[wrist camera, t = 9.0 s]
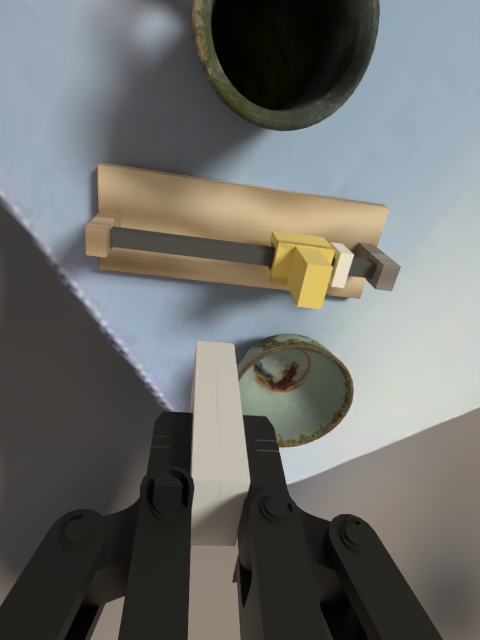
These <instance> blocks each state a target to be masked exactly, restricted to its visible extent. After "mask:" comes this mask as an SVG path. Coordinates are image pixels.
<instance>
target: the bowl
mask: <svg viewBox="0 0 480 640" xmlns="http://www.w3.org/2000/svg"><path fill="white" fill-rule="evenodd" d="M237 373H238V381H239V390H240V398H241V407H242V415H253V416H266V417H267V418H268V419H269V421H270V422H271V424H272V425H273V426H274V428H275V433H276V438H277V443H278V447H295V446H300V445H303V444H307V443H309V442H312V441H314V440H317V439H319V438H321V437H322V436H324V435H326V434H327V433H329V432H330V431H331V430H333V429H334V428H335V427H336V426H337V425H338V424H339V423H340V422H341V421H342V420H343V418H344V417H345V416H346V414H347V412H348V411H349V408H350V406H351V404H352V400H353V391H354V390H353V381H352V378H351V375H350V373H349V371H348V369H347V368H346V367H345V366H344V364H343V363H342V362H341V361H340V360H338V359H337V358H336V357H335V356H334V355H333V354H332V353H331V352H330V351H329V350H328V349H327V348H325V347H324V346H323V345H321V344H320V343H318V342H317V341H315V340H312V339H310V338H308V337H305V336H301V335H296V334H280V335H274V336H271V337H268V338H265V339H263V340H261V341H260V342H258V343H256V344H255V345H254V346H252V347H251V348H250V349H249V350H248V351H247V352H246V353H245V354H244V355H243V357H242V358H241V359H240V361H239V363H238V364H237Z"/></svg>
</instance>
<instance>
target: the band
mask: <svg viewBox="0 0 480 640" xmlns="http://www.w3.org/2000/svg"><path fill="white" fill-rule="evenodd" d="M330 245H331V246H332V247H333V248H334V249H335V253H334V256H333V257H334V259H335V262H334V266H333V269H332V273H331V277H330V280H329V284H330V285H331V287H339V288H344V286H345V283H346V279H347V276H348V273H349V270H350V266H351V263H352V260H353V257H354V254H353V253H352V252H351V251H350V250H348V249H347V248H346V247H345V246H344V245H343V244H340V243H333V242H331V243H330Z"/></svg>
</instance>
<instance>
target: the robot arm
mask: <svg viewBox="0 0 480 640" xmlns="http://www.w3.org/2000/svg"><path fill="white" fill-rule="evenodd" d="M237 537H238V549H239V554H238V558H237V562H236V566H235V570H234V574H233V582H237V586H238V603H239V619H240V635H241V640H443V639H442V638H441V636H440V634H439V632H438V631H437V629H436V628H435V626H434V624H433V623H432V621H431V620H430V618H429V616H428V615H427V613H426V612H425V610H424V609H423V607H422V605H421V604H420V602H419V601H418V599H417V597H416V596H415V595H414V593H413V591H412V590H411V588H410V586H409V585H408V584H407V582H406V580H405V578H404V577H403V575H402V574H401V572H400V570H399V569H398V567H397V566H396V564H395V563H394V561H393V559H392V558H391V556H390V555H389V553H388V551H387V550H386V548H385V547H384V545H383V543H382V542H381V540H380V539H379V537H378V536H377V534H376V532H375V531H374V530H373V529H372V528H371V527H370V525H369V524H368V523H367V522H365V521H364V520H362V519H361V518H359V517H356V516H354V515H351V514H340V515H338V516H337V517H334V518H333V520H332V521H331V522H330V521H327V520H324V519H321V518H318V517H315V516H313V515H310V514H308V513H306V512H304V511H303V510H302V509H300V508H299V507H298V506H297V505H296V504H295V502H294V501H293V500H292V499H291V497H290V496H289V493H288V490H287V485H286V480H285V476H284V471H283V466H282V462H281V457H280V453H279V447H278V443H277V438H276V433H275V428H274V426H273V425H272V424H271V422H270V421H269V419H268V418H267V417H266V416H253V415H242V407H241V398H240V390H239V381H238V373H237V364H236V356H235V347H234V344H231V343H219V342H207V341H197V344H196V353H195V362H194V371H193V381H192V390H191V404H190V413H186V412H168V411H163V412H162V413H161V415H160V416H159V417H158V419H157V420H156V421H155V425H154V431H153V438H152V444H151V451H150V456H149V463H148V469H147V475H146V476H144V478H143V480H142V483H141V485H140V498H139V499H138V500H137V501H136V502H135V503H134V504H133V505H132V506H130V507H128V508H127V509H125V510H122V511H120V512H117V513H113V514H110V515H106V516H103V517H102V516H101V514H99V513H97V512H95V511H93V510H90V509H79V510H75V511H72V512H68V513H67V514H65V515H64V516H62V517H60V518H59V519H58V520H57V521H56V522H55V523H54V525H53V526H52V527H51V528H50V530H49V531H48V533H47V534H46V536H45V537H44V539H43V540H42V542H41V543H40V545H39V547H38V548H37V550H36V551H35V553H34V555H33V556H32V558H31V559H30V561H29V562H28V564H27V566H26V567H25V569H24V570H23V572H22V573H21V575H20V576H19V578H18V580H17V581H16V583H15V584H14V586H13V587H12V589H11V591H10V592H9V594H8V595H7V597H6V599H5V600H4V601H3V603H2V605H1V606H0V640H90V639H91V636H92V634H93V632H94V629H95V627H96V625H97V622H98V620H99V617H100V615H101V613H102V610H103V608H104V606H105V603H107V602H110V601H112V600H115V599H118V598H121V597H123V596H125V600H124V606H123V612H122V618H121V625H120V631H119V637H118V640H187V639H188V611H189V610H188V609H189V580H190V578H189V577H190V549H191V548H190V547H191V545H221V546H222V545H223V546H226V545H227V546H235V545H236V541H237Z"/></svg>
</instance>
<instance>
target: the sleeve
mask: <svg viewBox="0 0 480 640" xmlns="http://www.w3.org/2000/svg"><path fill="white" fill-rule="evenodd" d="M269 246H270V247H275V254H274V259H273V264H272V267H271V266H265V271H266V274H267V276H268V279H269V282H270V284H276V285H284V286H288V288H289V290H290V292H291V295H292V297H293V299H294V301H295V303H296V305H297V307H304V308H314V309H321V308H322V305H323V301H324V298H325V294H326V291H327V287H328V284H329V280H330V277H331V273H332V269H333V266H332V265H331V263H332V260H333V256H334V253H335V249H334V248H333V247H332V246H331V245H330V244H329V243H328V242H327V241H326V239H325V238H324V237H318V236H310V235H303V234H296V233H288V232H281V231H273V230H272V233H271V239H270V244H269Z"/></svg>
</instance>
